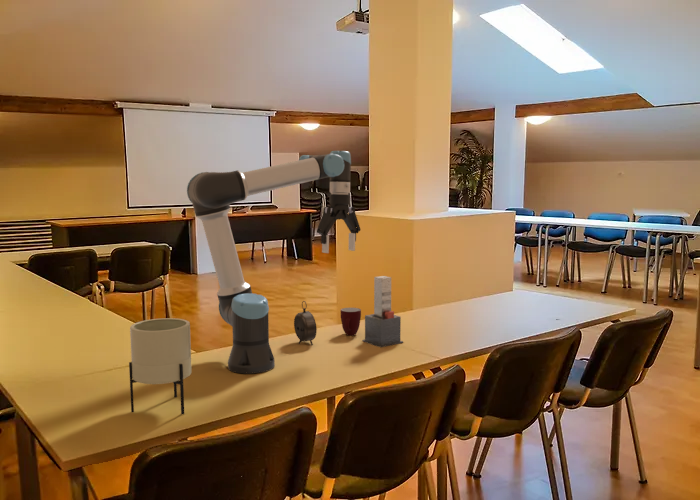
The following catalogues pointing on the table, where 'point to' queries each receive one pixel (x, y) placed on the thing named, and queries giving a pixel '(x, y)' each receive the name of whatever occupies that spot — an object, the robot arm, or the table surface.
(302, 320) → the alarm clock
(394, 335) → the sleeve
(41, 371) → the table surface
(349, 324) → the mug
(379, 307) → the column
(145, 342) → the planter
